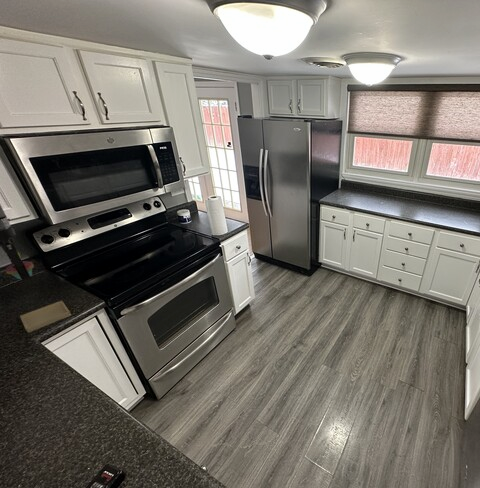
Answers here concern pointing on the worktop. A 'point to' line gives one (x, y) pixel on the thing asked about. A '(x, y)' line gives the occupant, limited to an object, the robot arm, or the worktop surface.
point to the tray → (45, 316)
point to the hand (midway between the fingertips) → (23, 274)
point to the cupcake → (14, 272)
